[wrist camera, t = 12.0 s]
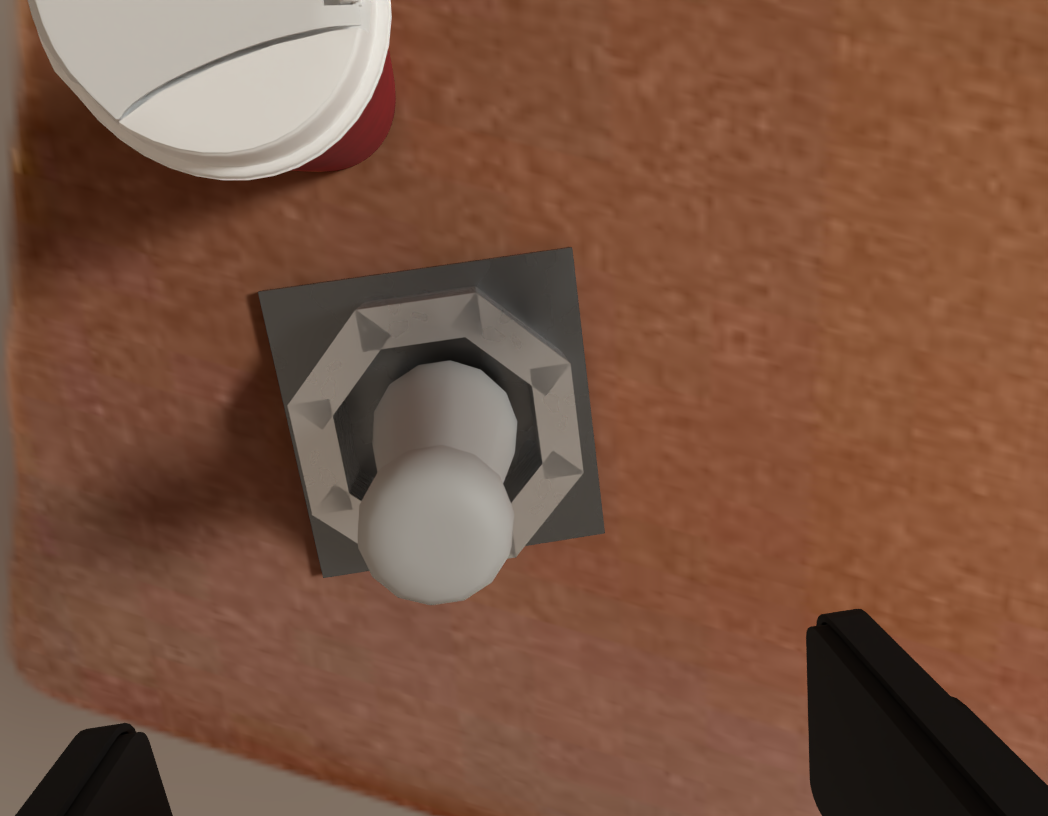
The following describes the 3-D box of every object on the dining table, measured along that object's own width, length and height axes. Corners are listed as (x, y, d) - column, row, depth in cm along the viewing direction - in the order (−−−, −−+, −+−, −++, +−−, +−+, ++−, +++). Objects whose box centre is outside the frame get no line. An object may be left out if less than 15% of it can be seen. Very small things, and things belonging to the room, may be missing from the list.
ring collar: (261, 290, 30) (235, 299, 26) (570, 246, 30) (583, 250, 27) (325, 571, 33) (309, 612, 30) (602, 527, 34) (618, 563, 30)
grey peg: (506, 483, 32) (533, 650, 20) (377, 476, 32) (319, 642, 19) (518, 355, 31) (554, 445, 18) (383, 345, 30) (324, 431, 18)
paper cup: (409, -20, 28) (355, -254, 14) (434, 189, 29) (407, 161, 16) (201, -4, 27) (-62, -231, 14) (240, 207, 29) (44, 192, 16)
